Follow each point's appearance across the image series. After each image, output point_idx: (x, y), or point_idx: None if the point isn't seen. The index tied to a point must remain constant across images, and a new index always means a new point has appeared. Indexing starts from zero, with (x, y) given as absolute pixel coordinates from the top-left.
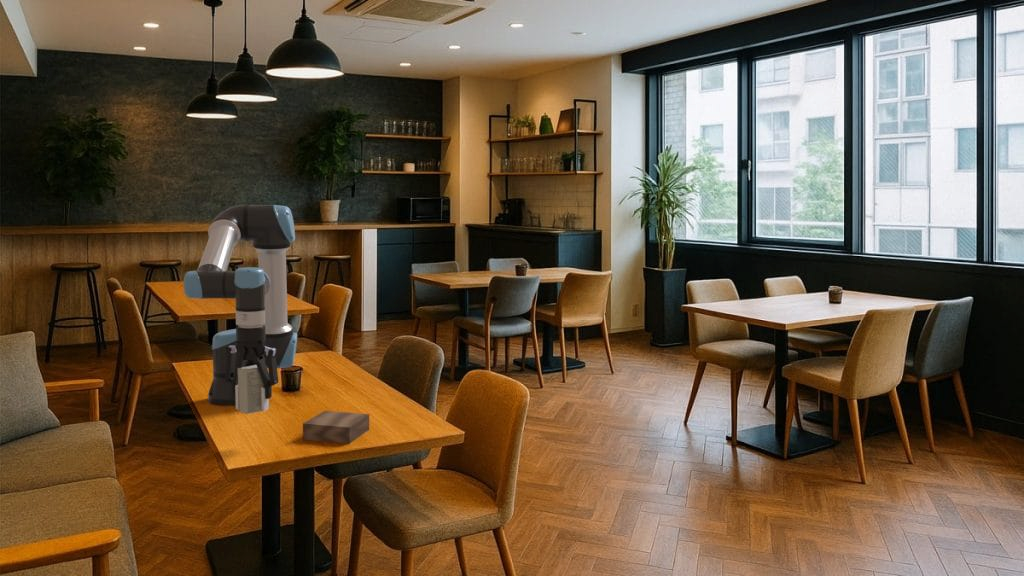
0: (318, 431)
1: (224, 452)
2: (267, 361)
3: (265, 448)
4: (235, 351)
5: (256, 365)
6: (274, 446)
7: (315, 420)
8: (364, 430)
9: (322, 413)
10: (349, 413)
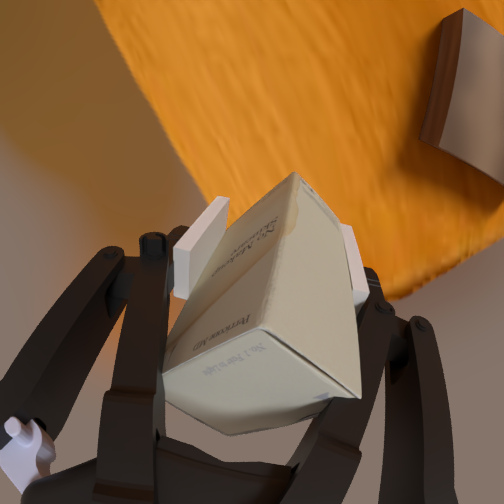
0: (468, 163)
1: None
2: (380, 487)
3: None
4: (48, 453)
5: (260, 357)
6: (352, 198)
7: (468, 116)
8: None
9: (468, 36)
10: None
